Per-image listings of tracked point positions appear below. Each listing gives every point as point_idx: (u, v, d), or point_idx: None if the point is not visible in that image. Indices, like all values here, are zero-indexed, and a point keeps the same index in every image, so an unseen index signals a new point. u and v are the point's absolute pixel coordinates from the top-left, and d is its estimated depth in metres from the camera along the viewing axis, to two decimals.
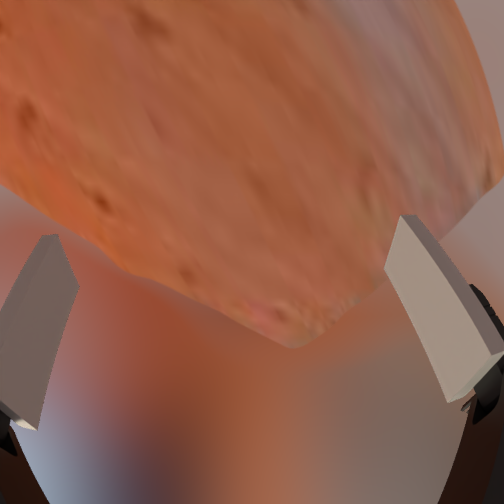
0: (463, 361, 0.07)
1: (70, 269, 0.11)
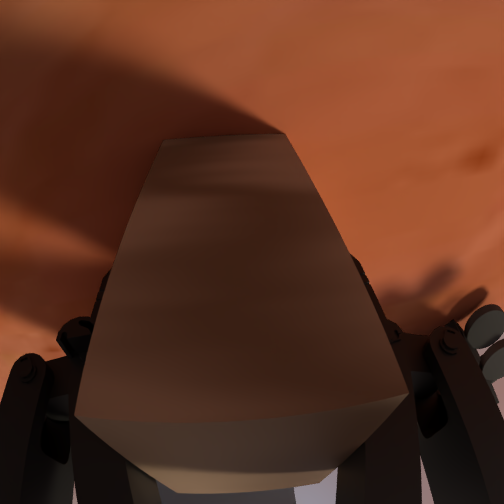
0: None
1: None
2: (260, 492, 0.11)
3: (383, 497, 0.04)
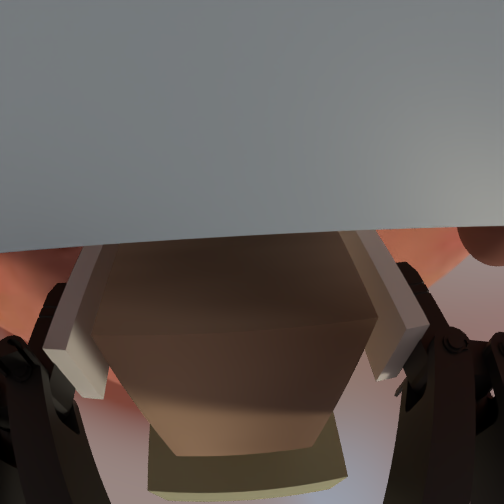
0: (385, 336, 0.08)
1: None
2: None
3: (439, 493, 0.04)
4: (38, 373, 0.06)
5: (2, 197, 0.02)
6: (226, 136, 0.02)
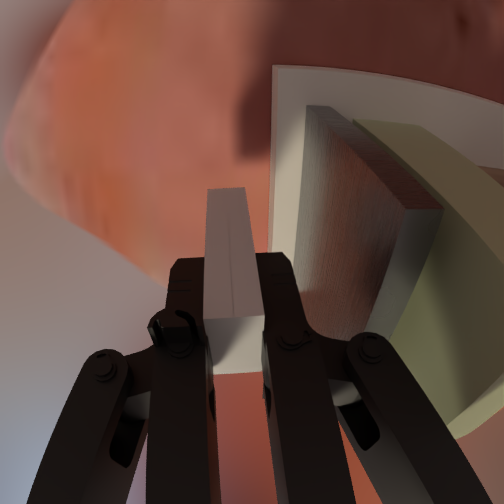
0: None
1: None
2: None
3: None
4: (201, 354, 0.07)
5: None
6: None
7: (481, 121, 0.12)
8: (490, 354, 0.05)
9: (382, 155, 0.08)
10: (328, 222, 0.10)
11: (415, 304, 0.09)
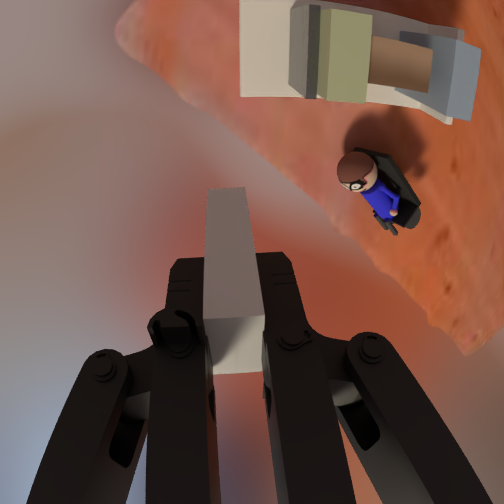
0: None
1: None
2: None
3: None
4: (201, 354, 0.07)
5: (458, 62, 0.21)
6: (457, 79, 0.22)
7: None
8: (328, 27, 0.20)
9: None
10: (298, 34, 0.25)
11: None
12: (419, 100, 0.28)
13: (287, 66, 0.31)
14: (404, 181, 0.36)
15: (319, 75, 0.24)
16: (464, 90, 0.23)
